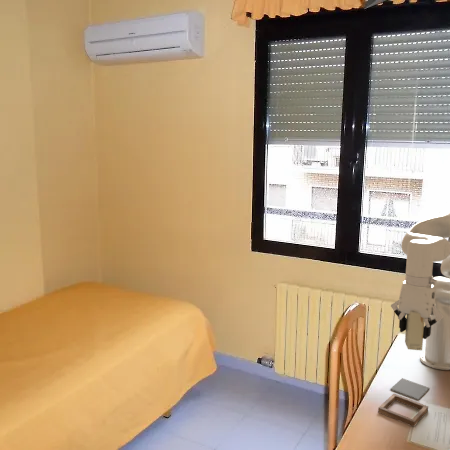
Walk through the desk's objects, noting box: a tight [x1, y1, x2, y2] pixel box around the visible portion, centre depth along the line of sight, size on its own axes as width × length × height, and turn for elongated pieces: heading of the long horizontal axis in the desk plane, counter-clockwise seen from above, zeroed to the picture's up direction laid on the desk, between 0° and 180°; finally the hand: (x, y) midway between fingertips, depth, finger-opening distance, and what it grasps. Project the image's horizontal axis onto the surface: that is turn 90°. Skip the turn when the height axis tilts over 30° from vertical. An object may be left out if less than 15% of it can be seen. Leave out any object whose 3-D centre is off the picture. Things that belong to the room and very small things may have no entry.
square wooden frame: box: [377, 393, 429, 428], centre depth 142 cm, size 11×11×2 cm
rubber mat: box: [389, 377, 430, 401], centre depth 154 cm, size 9×9×1 cm
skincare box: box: [404, 311, 425, 351], centre depth 150 cm, size 6×4×12 cm
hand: (414, 333), depth 150 cm, fingers closed on skincare box, 6 cm apart
